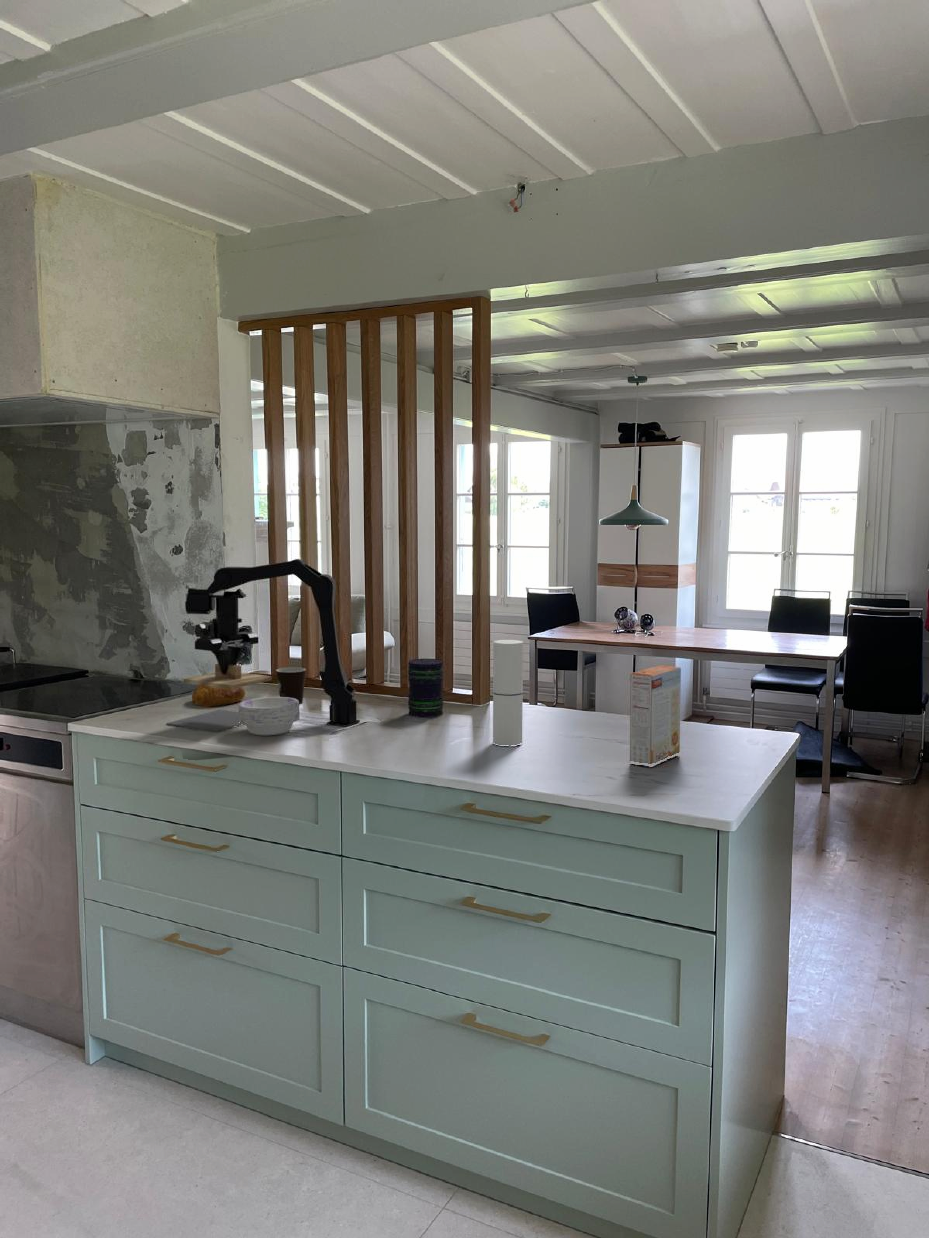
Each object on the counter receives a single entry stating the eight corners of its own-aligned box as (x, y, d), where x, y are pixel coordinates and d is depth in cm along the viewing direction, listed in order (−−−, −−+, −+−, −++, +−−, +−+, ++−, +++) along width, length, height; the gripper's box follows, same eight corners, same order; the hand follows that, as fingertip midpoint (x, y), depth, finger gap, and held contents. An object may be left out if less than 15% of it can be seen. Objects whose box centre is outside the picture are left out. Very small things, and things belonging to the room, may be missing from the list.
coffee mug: (303, 706, 270) (302, 672, 269) (273, 706, 270) (273, 672, 269) (310, 698, 282) (310, 666, 280) (282, 698, 282) (281, 665, 281)
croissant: (252, 709, 277) (255, 682, 277) (205, 709, 266) (208, 681, 265) (225, 701, 287) (228, 675, 287) (180, 701, 275) (183, 674, 275)
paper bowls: (235, 727, 242) (235, 697, 241) (294, 723, 248) (293, 694, 247) (243, 740, 228) (242, 709, 227) (304, 736, 233) (304, 705, 232)
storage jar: (449, 715, 258) (449, 662, 256) (416, 719, 253) (416, 664, 252) (434, 709, 266) (434, 657, 265) (402, 712, 262) (402, 659, 261)
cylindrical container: (497, 747, 222) (498, 644, 219) (489, 741, 228) (489, 640, 226) (526, 746, 223) (527, 643, 221) (516, 739, 230) (517, 639, 228)
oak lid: (271, 680, 249) (271, 663, 249) (230, 689, 235) (230, 671, 234) (225, 674, 256) (225, 658, 256) (183, 682, 242) (183, 666, 242)
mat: (269, 717, 255) (269, 716, 254) (217, 732, 237) (217, 730, 237) (219, 711, 263) (219, 709, 263) (166, 724, 246) (166, 723, 245)
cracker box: (657, 752, 218) (659, 664, 216) (680, 756, 214) (683, 666, 212) (627, 764, 207) (629, 671, 205) (651, 768, 203) (653, 674, 201)
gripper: (227, 610, 256) (228, 666, 257) (178, 615, 239) (178, 675, 241) (259, 612, 251) (259, 669, 252) (211, 618, 234) (211, 679, 236)
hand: (227, 673), depth 245 cm, fingers closed on oak lid, 2 cm apart
